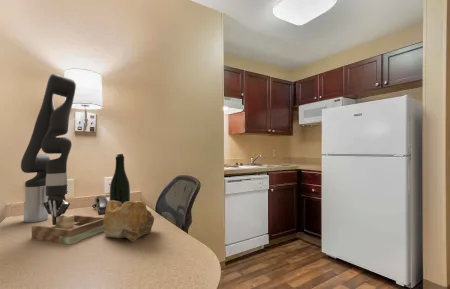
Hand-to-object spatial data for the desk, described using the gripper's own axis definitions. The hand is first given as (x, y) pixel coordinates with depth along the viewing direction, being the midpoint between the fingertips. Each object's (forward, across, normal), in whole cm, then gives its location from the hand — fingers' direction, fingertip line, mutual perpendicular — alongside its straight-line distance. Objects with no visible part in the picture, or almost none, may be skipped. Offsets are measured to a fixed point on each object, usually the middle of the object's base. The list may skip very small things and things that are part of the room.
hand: (56, 224), depth 102 cm
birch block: (+1, +5, 0) cm, 5 cm away
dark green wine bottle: (+3, +5, +31) cm, 32 cm away
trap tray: (+3, +9, 0) cm, 9 cm away
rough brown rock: (+4, +35, +6) cm, 36 cm away
